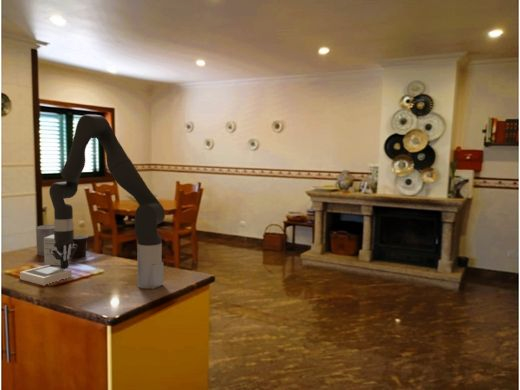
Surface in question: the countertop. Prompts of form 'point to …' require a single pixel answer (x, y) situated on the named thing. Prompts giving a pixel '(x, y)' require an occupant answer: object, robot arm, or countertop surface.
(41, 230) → the pillar candle
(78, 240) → the coffee mug
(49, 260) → the supplement box
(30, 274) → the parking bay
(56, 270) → the white box with feet
